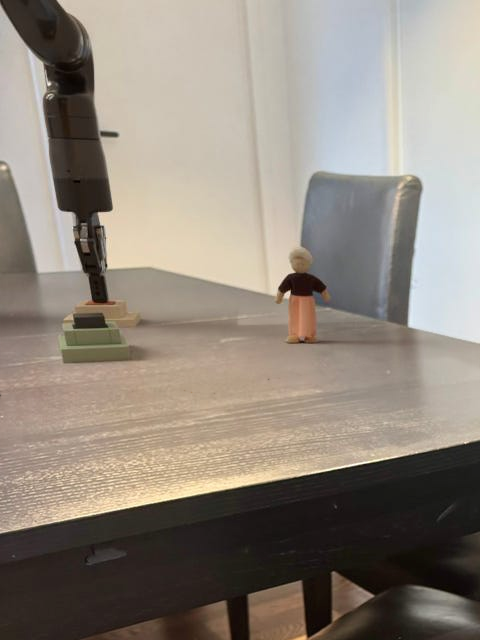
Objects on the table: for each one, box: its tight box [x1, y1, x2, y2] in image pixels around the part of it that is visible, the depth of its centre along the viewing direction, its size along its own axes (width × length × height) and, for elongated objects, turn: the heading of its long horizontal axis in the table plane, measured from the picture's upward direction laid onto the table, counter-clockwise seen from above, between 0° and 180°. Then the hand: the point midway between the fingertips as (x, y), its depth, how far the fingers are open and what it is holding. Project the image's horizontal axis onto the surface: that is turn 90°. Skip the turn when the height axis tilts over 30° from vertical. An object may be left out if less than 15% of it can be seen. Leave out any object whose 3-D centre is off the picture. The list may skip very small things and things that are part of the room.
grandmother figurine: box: [274, 245, 331, 344], centre depth 128 cm, size 8×4×13 cm, turn 114°
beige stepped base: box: [62, 300, 142, 329], centre depth 140 cm, size 10×8×3 cm
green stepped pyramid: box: [57, 321, 132, 364], centre depth 118 cm, size 11×8×4 cm
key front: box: [73, 313, 106, 329], centre depth 117 cm, size 4×4×2 cm
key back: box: [86, 300, 115, 305], centre depth 139 cm, size 4×4×2 cm
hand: (100, 302), depth 139 cm, fingers closed
